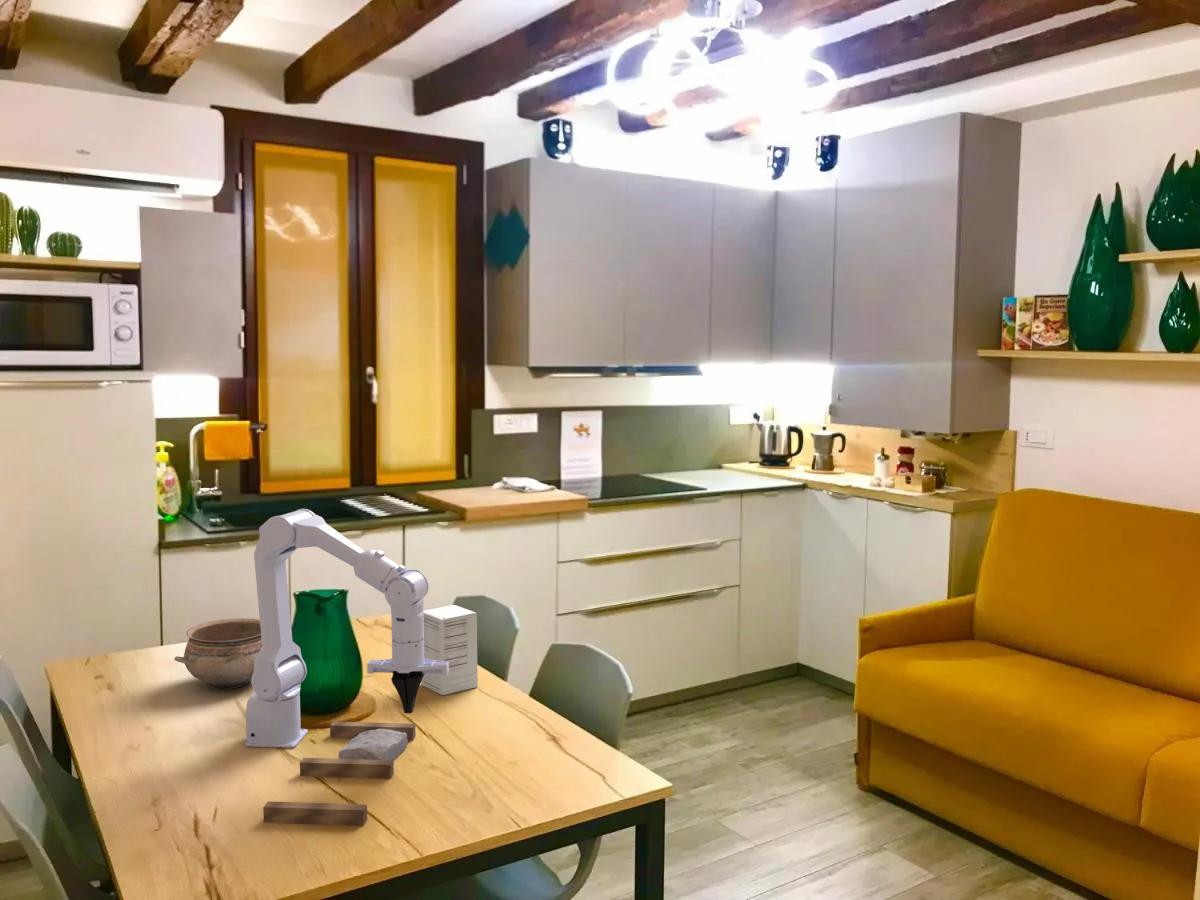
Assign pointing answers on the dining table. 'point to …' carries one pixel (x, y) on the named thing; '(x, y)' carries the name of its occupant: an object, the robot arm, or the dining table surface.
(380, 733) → the stone block
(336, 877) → the dining table surface
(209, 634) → the cooking pot
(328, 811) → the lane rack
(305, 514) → the robot arm
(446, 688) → the supplement box
